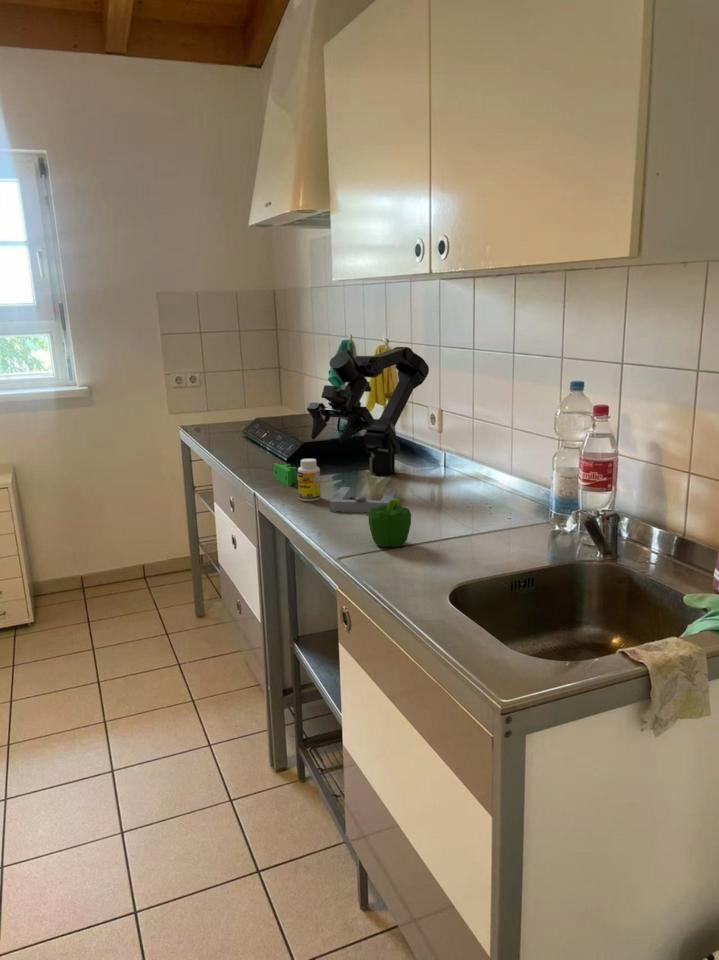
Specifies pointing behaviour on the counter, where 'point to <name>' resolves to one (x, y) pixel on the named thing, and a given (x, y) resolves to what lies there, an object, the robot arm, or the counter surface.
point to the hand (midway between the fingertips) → (326, 439)
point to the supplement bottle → (309, 480)
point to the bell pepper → (389, 524)
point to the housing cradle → (358, 501)
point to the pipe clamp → (285, 473)
